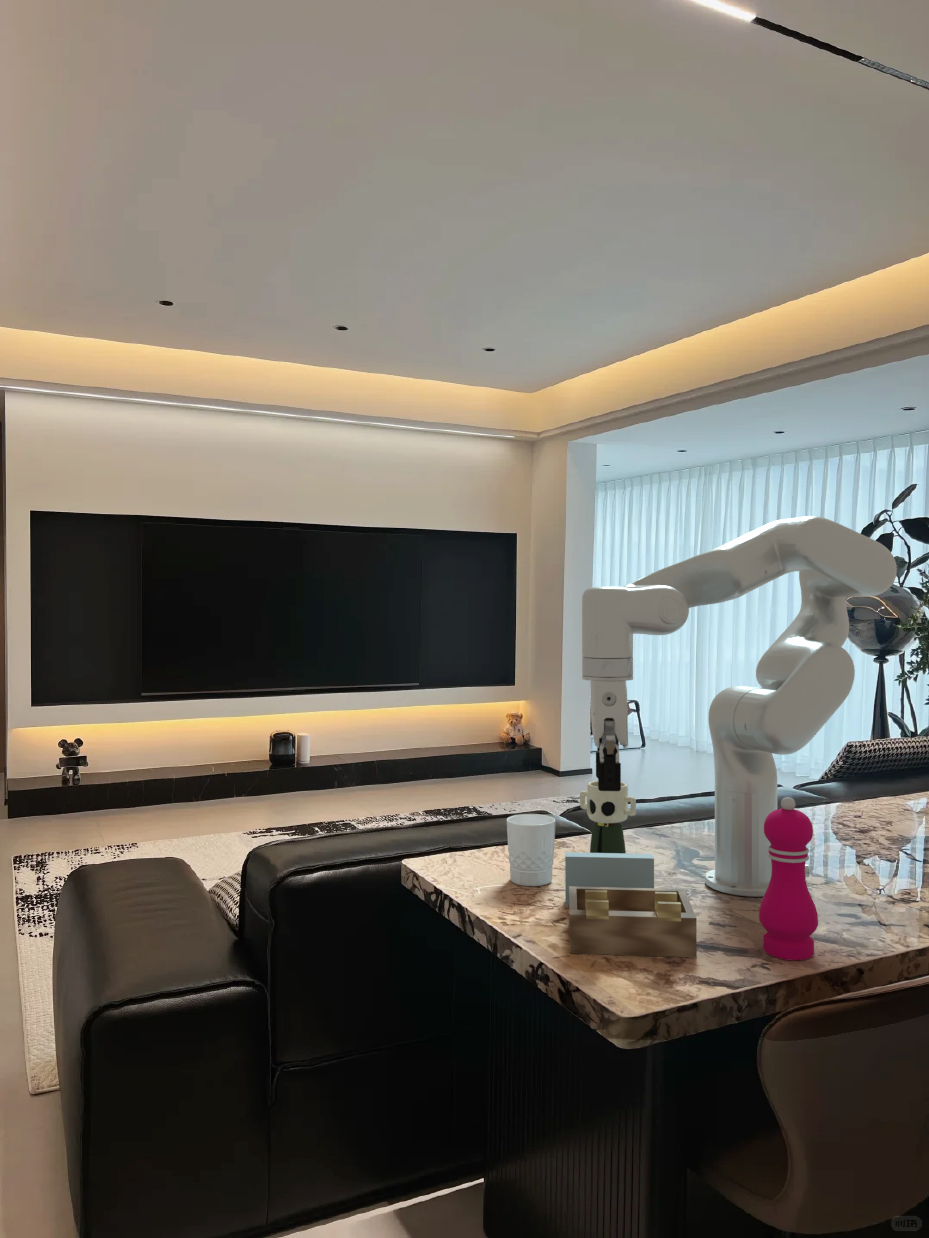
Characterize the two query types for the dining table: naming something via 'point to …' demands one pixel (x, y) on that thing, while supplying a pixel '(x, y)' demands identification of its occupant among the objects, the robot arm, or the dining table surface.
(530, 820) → the white cup
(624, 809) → the character mug
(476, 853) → the dining table surface
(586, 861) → the door
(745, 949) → the dining table surface
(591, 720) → the robot arm
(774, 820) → the pepper mill
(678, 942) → the carcass
